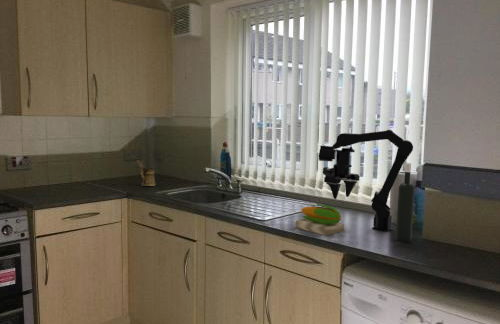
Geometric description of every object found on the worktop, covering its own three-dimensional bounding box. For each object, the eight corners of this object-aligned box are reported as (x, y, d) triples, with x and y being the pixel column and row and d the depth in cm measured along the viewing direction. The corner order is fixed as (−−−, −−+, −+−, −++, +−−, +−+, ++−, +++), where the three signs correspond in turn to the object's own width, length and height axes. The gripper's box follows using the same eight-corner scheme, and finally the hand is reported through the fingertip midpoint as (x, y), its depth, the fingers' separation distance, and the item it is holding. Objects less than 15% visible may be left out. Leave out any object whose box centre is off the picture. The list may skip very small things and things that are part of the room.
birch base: (343, 230, 182) (344, 223, 182) (326, 235, 174) (326, 228, 174) (313, 223, 194) (313, 216, 193) (295, 227, 185) (295, 220, 185)
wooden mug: (132, 186, 282) (133, 158, 280) (149, 184, 292) (150, 157, 291) (141, 188, 276) (141, 159, 275) (158, 186, 287) (158, 158, 285)
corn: (335, 208, 173) (296, 201, 187) (333, 227, 173) (294, 218, 188) (345, 207, 178) (307, 200, 193) (344, 226, 179) (305, 217, 193)
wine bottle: (412, 242, 167) (417, 164, 164) (396, 241, 168) (401, 163, 165) (409, 238, 172) (414, 162, 170) (394, 237, 173) (399, 162, 171)
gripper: (339, 159, 202) (338, 193, 203) (314, 161, 189) (313, 197, 190) (361, 161, 194) (359, 196, 195) (336, 163, 181) (334, 201, 183)
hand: (341, 197), depth 191 cm, fingers open, 9 cm apart
